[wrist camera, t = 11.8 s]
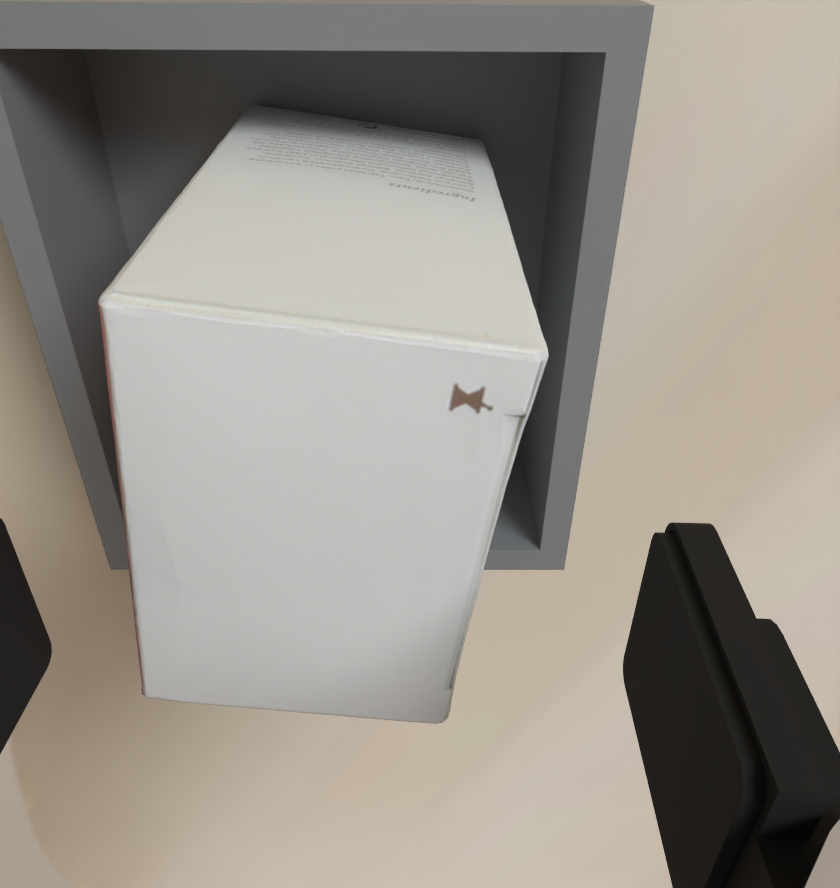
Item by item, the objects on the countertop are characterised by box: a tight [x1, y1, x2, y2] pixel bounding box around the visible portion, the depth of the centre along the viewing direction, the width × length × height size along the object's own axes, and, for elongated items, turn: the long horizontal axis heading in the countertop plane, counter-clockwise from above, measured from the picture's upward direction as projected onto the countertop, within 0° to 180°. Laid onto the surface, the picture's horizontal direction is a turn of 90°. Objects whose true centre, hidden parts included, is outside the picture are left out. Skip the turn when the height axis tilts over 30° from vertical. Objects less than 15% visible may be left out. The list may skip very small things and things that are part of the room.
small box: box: [98, 105, 549, 724], centre depth 15 cm, size 8×6×10 cm
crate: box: [0, 0, 654, 570], centre depth 18 cm, size 12×13×5 cm
